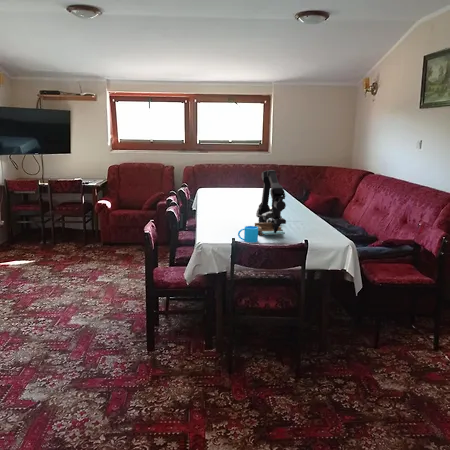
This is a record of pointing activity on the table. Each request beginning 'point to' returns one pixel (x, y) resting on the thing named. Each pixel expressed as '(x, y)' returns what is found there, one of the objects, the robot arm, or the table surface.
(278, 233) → the panel
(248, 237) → the mug
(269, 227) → the truck bed
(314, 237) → the table surface
